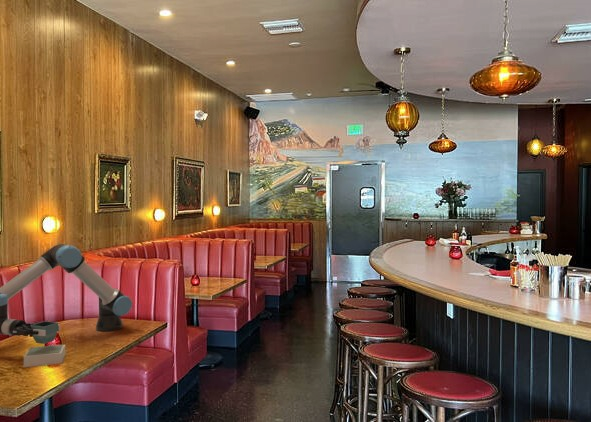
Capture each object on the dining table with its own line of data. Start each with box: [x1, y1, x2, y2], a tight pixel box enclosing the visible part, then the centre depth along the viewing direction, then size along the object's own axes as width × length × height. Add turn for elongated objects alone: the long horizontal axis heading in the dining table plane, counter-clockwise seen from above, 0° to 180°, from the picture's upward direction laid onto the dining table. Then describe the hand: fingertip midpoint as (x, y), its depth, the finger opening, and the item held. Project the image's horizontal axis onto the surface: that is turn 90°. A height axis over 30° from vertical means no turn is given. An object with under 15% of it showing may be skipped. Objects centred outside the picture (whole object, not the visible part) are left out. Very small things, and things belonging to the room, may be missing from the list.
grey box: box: [23, 344, 66, 368], centre depth 233 cm, size 16×14×6 cm
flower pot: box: [31, 320, 59, 345], centre depth 233 cm, size 9×9×9 cm
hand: (52, 330), depth 231 cm, fingers closed on flower pot, 9 cm apart
